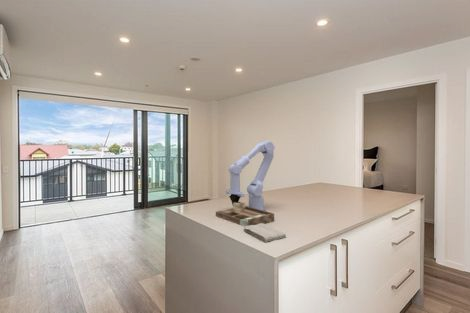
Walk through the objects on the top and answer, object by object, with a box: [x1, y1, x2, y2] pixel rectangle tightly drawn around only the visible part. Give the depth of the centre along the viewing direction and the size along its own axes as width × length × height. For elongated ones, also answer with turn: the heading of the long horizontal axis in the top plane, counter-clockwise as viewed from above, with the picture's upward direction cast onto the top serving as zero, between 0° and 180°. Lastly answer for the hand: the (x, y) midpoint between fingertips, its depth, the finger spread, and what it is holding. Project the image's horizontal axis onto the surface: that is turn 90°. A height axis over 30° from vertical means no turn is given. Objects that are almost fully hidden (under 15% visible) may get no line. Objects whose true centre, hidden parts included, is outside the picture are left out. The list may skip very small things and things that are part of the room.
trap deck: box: [215, 205, 275, 227], centre depth 136 cm, size 18×28×4 cm, turn 40°
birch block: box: [232, 201, 246, 211], centre depth 146 cm, size 5×5×4 cm
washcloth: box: [243, 223, 287, 243], centre depth 111 cm, size 12×18×3 cm, turn 31°
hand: (235, 207), depth 149 cm, fingers closed
